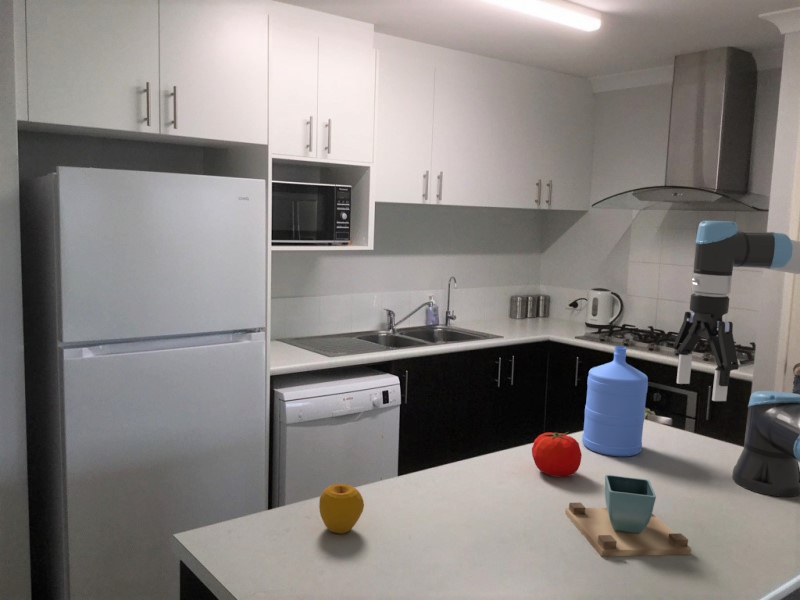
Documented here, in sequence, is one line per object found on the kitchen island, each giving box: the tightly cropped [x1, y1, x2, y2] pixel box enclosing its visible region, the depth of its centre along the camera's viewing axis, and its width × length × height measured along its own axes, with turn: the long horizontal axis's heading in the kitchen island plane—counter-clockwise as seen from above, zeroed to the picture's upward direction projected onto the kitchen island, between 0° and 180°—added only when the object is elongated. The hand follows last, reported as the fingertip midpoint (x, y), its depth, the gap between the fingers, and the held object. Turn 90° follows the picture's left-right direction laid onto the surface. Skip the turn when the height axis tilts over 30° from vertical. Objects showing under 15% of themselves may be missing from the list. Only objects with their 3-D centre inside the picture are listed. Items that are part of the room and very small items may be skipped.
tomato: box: [531, 431, 583, 478], centre depth 170 cm, size 12×12×10 cm
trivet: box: [565, 502, 692, 558], centre depth 141 cm, size 18×18×3 cm
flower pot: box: [604, 474, 657, 533], centre depth 140 cm, size 9×9×9 cm
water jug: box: [581, 345, 649, 458], centre depth 190 cm, size 16×16×28 cm
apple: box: [318, 483, 365, 535], centre depth 135 cm, size 8×8×9 cm
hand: (700, 391), depth 151 cm, fingers open, 13 cm apart
